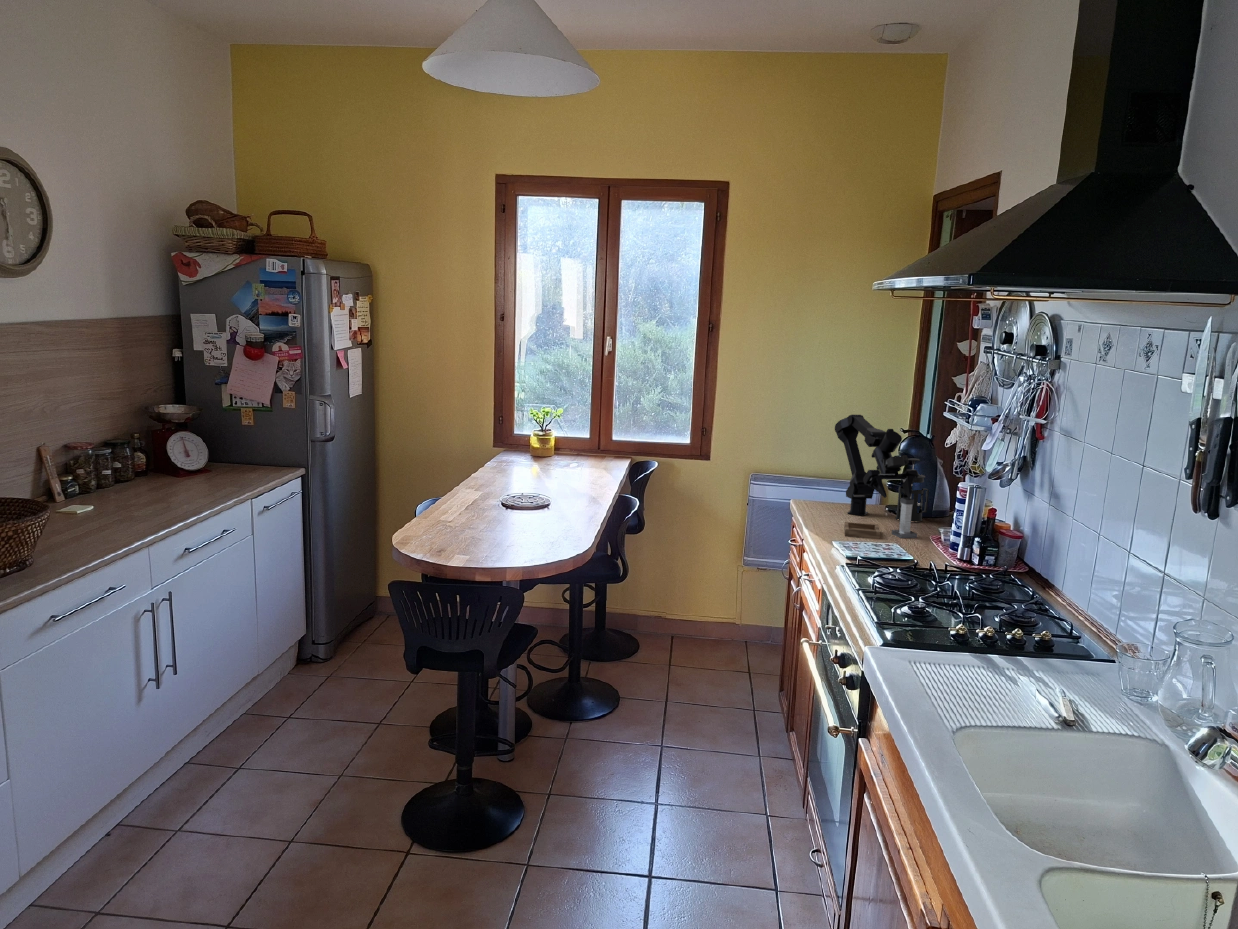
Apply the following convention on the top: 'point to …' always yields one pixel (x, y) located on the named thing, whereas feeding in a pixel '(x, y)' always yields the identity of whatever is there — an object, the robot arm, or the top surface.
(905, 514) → the post on square base
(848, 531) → the dock
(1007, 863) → the top surface
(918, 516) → the french press
